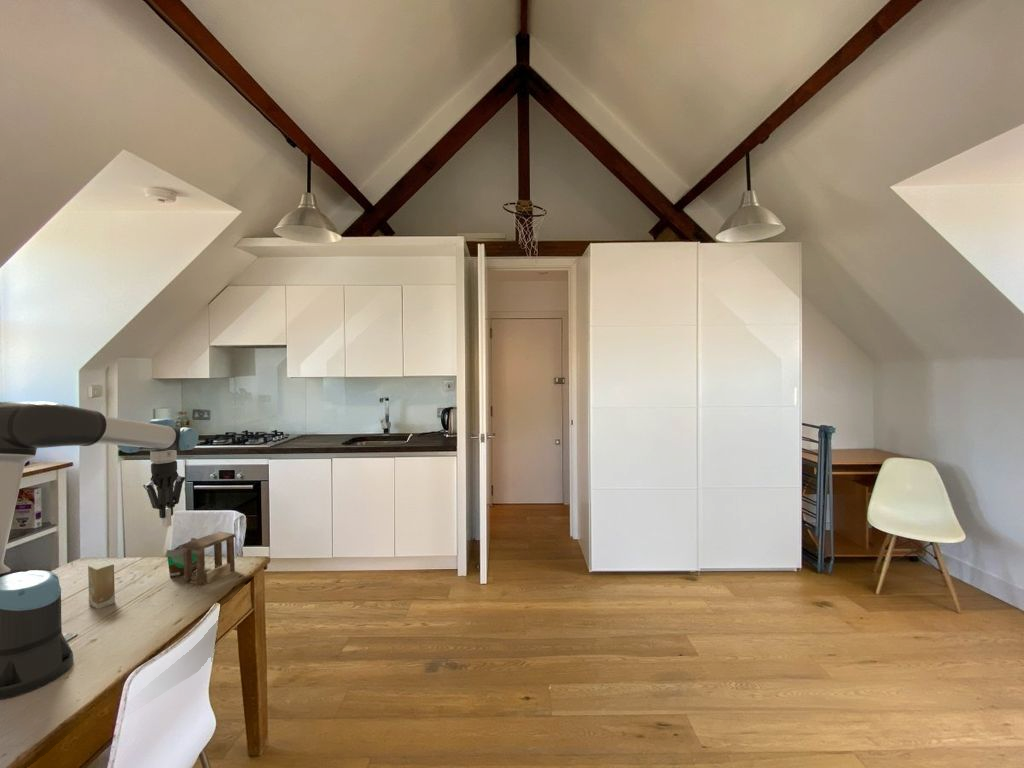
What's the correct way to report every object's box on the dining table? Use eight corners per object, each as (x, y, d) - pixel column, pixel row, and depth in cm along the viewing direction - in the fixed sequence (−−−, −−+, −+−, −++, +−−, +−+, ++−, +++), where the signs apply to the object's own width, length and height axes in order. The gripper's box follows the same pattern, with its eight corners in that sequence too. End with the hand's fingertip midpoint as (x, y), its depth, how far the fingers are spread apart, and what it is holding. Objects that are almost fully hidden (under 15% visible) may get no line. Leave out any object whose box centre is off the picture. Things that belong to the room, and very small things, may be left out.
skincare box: (88, 604, 136) (86, 565, 136) (106, 598, 140) (104, 559, 139) (97, 609, 133) (96, 569, 133) (116, 602, 137) (114, 563, 136)
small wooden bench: (200, 587, 146) (198, 548, 146) (182, 583, 149) (181, 544, 149) (237, 570, 158) (236, 534, 158) (220, 566, 161) (219, 531, 161)
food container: (184, 579, 152) (183, 550, 151) (166, 579, 152) (165, 550, 151) (209, 564, 164) (208, 537, 164) (193, 564, 164) (192, 537, 164)
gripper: (150, 465, 153) (153, 533, 154) (189, 458, 166) (192, 521, 167) (136, 464, 156) (139, 530, 157) (176, 457, 168) (178, 518, 169)
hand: (166, 525), depth 162 cm, fingers closed
